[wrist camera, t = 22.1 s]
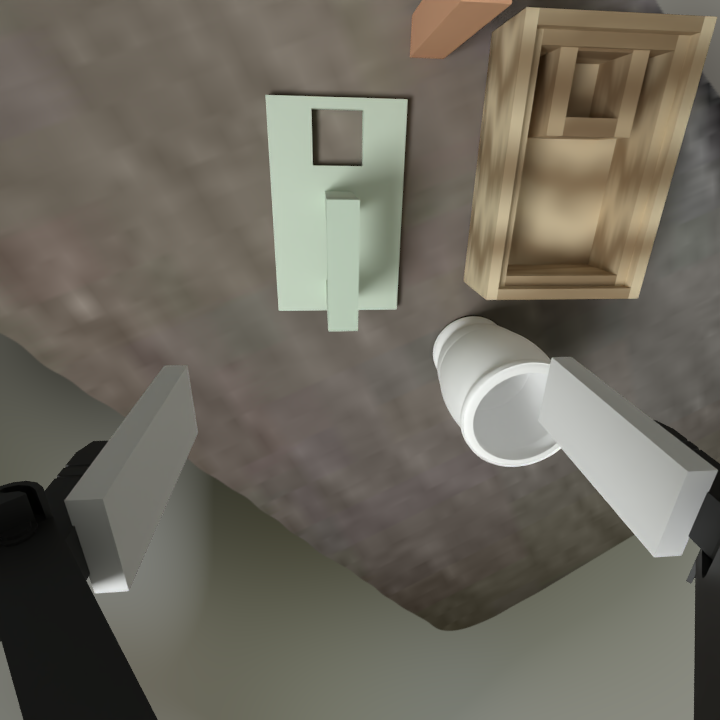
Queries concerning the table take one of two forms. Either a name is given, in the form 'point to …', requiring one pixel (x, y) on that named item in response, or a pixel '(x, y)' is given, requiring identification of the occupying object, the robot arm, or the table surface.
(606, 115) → the wooden box
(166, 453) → the robot arm
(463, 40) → the key peg
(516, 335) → the jar
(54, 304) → the table surface
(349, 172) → the lid
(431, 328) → the table surface
